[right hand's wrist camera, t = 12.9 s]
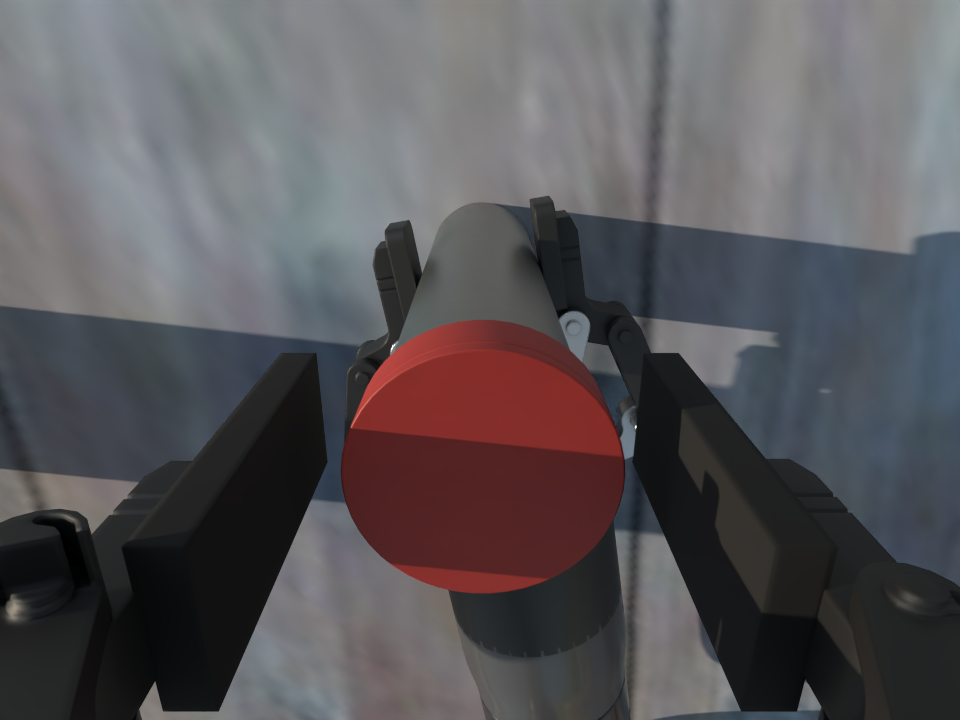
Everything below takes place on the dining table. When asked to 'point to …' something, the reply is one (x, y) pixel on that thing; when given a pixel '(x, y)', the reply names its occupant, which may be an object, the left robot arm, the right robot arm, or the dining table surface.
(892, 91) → the dining table surface
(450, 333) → the lid
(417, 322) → the gray cylinder
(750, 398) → the dining table surface
